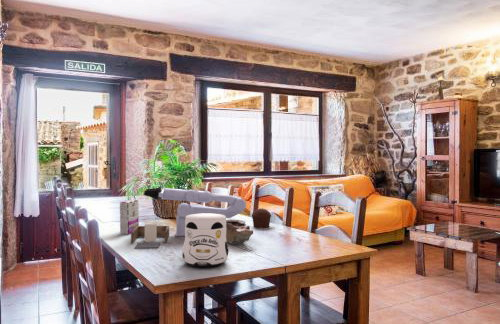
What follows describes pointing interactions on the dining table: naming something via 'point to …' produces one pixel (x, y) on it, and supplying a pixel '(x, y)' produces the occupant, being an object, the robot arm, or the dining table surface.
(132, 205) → the candy bar box
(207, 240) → the dulce de leche canister
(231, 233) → the grey-brown irregular lump
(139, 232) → the walnut u-shaped frame
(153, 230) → the cream block
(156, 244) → the charcoal mat
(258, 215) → the muffin
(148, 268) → the dining table surface
